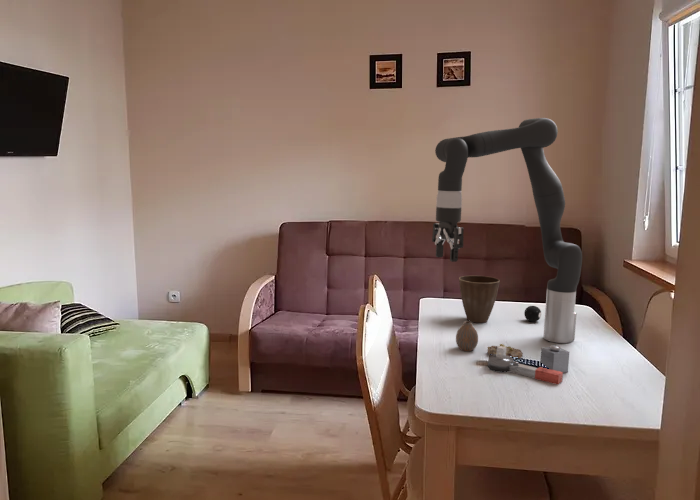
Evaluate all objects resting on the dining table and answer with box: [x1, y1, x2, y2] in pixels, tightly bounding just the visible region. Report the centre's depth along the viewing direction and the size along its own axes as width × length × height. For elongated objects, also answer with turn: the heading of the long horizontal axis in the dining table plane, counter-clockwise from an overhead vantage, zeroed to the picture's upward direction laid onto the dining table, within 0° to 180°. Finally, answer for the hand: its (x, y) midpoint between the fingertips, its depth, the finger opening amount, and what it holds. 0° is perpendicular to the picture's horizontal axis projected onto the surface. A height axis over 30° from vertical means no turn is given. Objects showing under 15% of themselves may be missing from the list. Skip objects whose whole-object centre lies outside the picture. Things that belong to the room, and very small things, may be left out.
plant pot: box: [458, 275, 500, 324], centre depth 216 cm, size 15×15×16 cm
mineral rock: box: [487, 343, 524, 359], centre depth 177 cm, size 11×4×8 cm
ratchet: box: [487, 345, 564, 386], centre depth 161 cm, size 7×21×6 cm, turn 51°
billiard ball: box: [523, 305, 542, 323], centre depth 217 cm, size 6×6×6 cm
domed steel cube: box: [539, 344, 570, 374], centre depth 165 cm, size 5×5×7 cm
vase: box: [455, 321, 479, 352], centre depth 182 cm, size 7×7×9 cm
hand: (446, 259), depth 175 cm, fingers open, 8 cm apart
